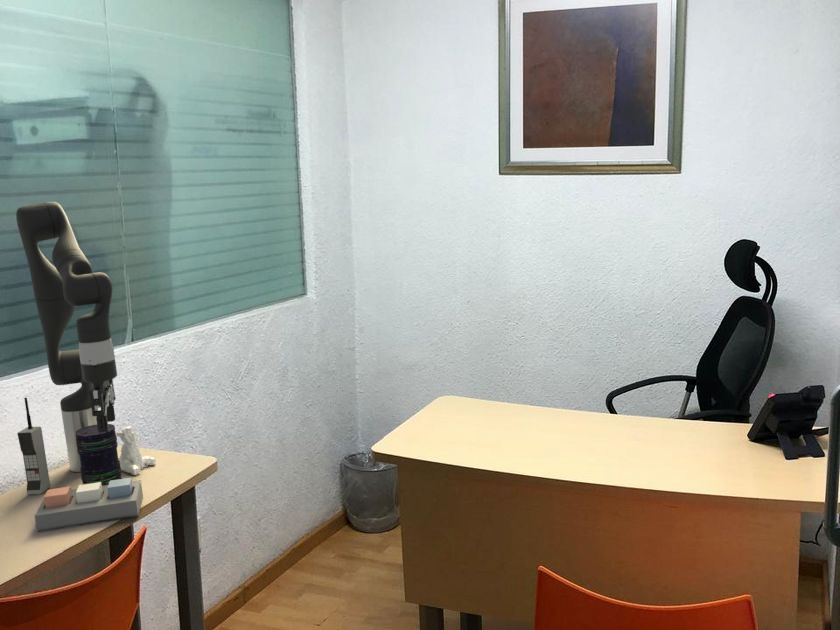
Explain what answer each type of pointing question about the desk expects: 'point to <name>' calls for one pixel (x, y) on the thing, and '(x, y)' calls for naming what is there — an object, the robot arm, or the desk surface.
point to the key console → (89, 510)
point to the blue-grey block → (120, 488)
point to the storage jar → (98, 455)
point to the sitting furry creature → (132, 453)
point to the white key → (89, 492)
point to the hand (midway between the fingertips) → (107, 426)
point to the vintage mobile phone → (34, 457)
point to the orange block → (58, 497)
